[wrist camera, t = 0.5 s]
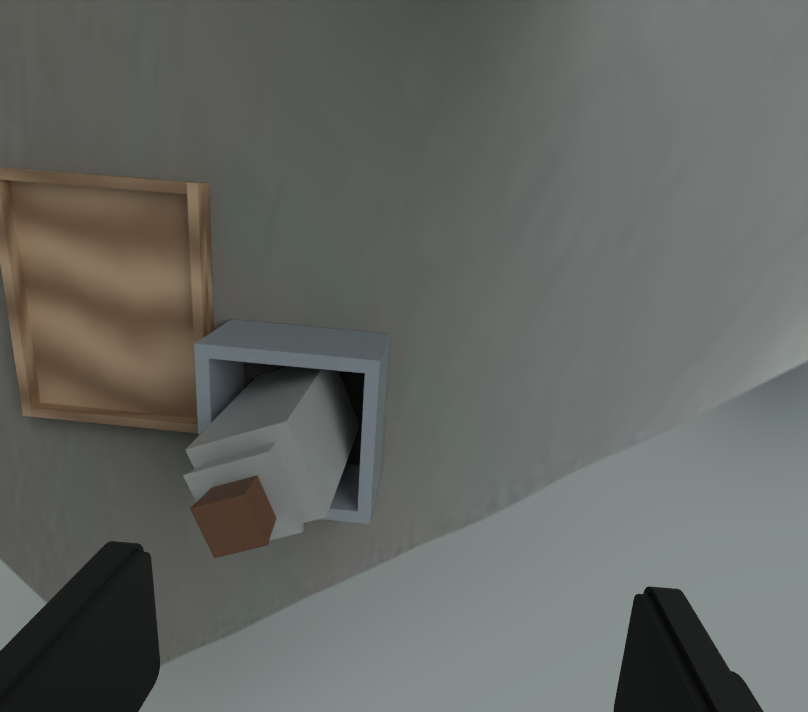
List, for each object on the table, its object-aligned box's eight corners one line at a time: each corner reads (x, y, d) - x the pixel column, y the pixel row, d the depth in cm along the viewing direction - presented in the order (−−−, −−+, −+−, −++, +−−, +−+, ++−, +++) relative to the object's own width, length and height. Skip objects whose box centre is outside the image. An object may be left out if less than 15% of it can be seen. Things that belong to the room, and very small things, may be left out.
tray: (6, 167, 44) (-15, 167, 42) (208, 183, 43) (197, 183, 41) (39, 406, 50) (22, 415, 48) (216, 424, 49) (207, 434, 47)
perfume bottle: (359, 426, 48) (308, 564, 31) (286, 445, 49) (199, 590, 32) (332, 353, 46) (261, 457, 29) (257, 375, 47) (147, 488, 30)
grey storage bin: (231, 319, 46) (194, 343, 39) (390, 333, 45) (380, 360, 39) (234, 462, 50) (201, 506, 43) (380, 477, 49) (370, 524, 42)
